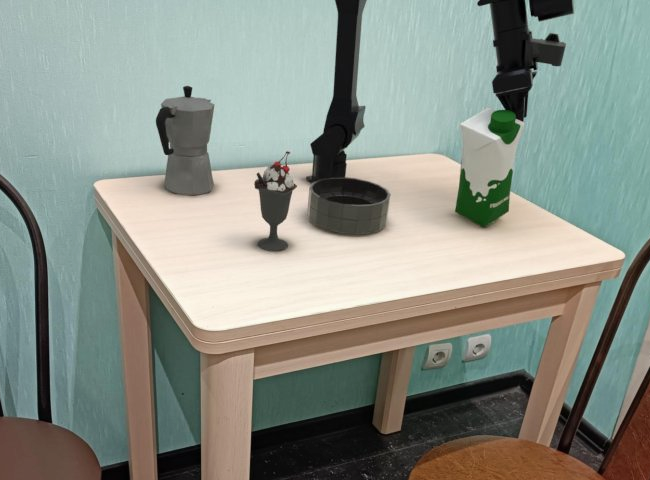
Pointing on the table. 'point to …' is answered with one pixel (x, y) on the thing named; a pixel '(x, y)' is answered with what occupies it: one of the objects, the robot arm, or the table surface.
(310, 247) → the table surface
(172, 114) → the coffeepot
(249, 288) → the table surface
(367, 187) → the bowl
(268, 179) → the sundae
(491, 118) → the milk carton
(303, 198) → the table surface
